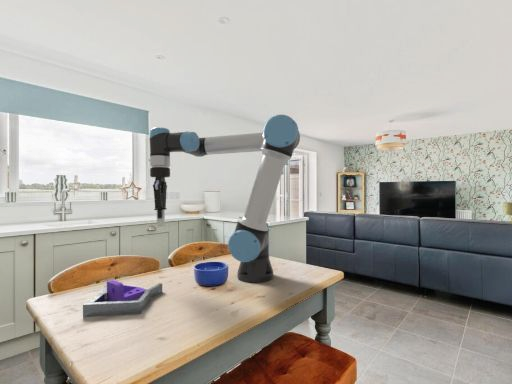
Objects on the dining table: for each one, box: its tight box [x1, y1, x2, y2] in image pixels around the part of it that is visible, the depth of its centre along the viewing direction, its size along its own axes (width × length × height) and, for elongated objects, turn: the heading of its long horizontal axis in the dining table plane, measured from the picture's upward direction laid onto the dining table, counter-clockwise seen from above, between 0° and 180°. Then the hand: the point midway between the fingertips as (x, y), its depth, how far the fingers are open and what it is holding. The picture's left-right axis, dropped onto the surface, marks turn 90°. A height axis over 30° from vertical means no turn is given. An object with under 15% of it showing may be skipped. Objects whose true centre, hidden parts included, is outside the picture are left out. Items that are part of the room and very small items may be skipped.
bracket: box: [106, 279, 148, 302], centre depth 95 cm, size 12×7×7 cm, turn 145°
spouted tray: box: [82, 282, 163, 318], centre depth 91 cm, size 20×19×4 cm
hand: (160, 226), depth 111 cm, fingers closed
